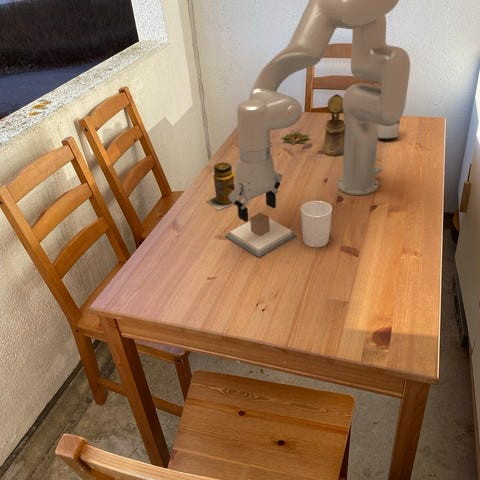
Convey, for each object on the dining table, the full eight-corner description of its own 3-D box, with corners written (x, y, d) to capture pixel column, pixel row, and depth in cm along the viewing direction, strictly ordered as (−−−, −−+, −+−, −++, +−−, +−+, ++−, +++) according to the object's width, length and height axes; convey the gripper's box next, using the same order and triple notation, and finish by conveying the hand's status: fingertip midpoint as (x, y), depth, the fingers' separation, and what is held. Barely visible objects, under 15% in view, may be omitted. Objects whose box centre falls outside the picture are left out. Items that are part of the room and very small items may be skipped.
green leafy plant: (277, 145, 180) (276, 134, 177) (284, 133, 189) (283, 122, 187) (308, 147, 177) (308, 136, 174) (313, 135, 186) (314, 123, 183)
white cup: (333, 234, 128) (334, 202, 122) (327, 250, 122) (329, 218, 116) (304, 230, 130) (304, 199, 125) (298, 246, 124) (297, 214, 119)
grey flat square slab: (262, 217, 138) (262, 215, 137) (297, 236, 128) (297, 234, 128) (225, 237, 131) (224, 235, 130) (258, 258, 121) (258, 256, 121)
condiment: (241, 201, 146) (238, 166, 140) (218, 210, 143) (213, 175, 136) (228, 192, 152) (225, 158, 145) (206, 201, 148) (201, 166, 141)
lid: (262, 218, 136) (261, 201, 133) (291, 234, 128) (291, 216, 125) (230, 235, 130) (228, 217, 127) (258, 253, 122) (257, 235, 119)
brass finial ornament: (347, 141, 177) (349, 93, 167) (347, 156, 167) (350, 106, 156) (323, 141, 179) (324, 94, 169) (321, 156, 168) (322, 106, 158)
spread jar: (400, 142, 173) (403, 111, 166) (368, 144, 174) (371, 113, 167) (391, 130, 183) (395, 100, 176) (362, 132, 183) (364, 102, 177)
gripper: (270, 138, 122) (271, 196, 132) (217, 158, 113) (223, 219, 123) (291, 146, 117) (290, 206, 127) (237, 168, 108) (241, 230, 118)
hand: (257, 212), depth 125 cm, fingers open, 9 cm apart
